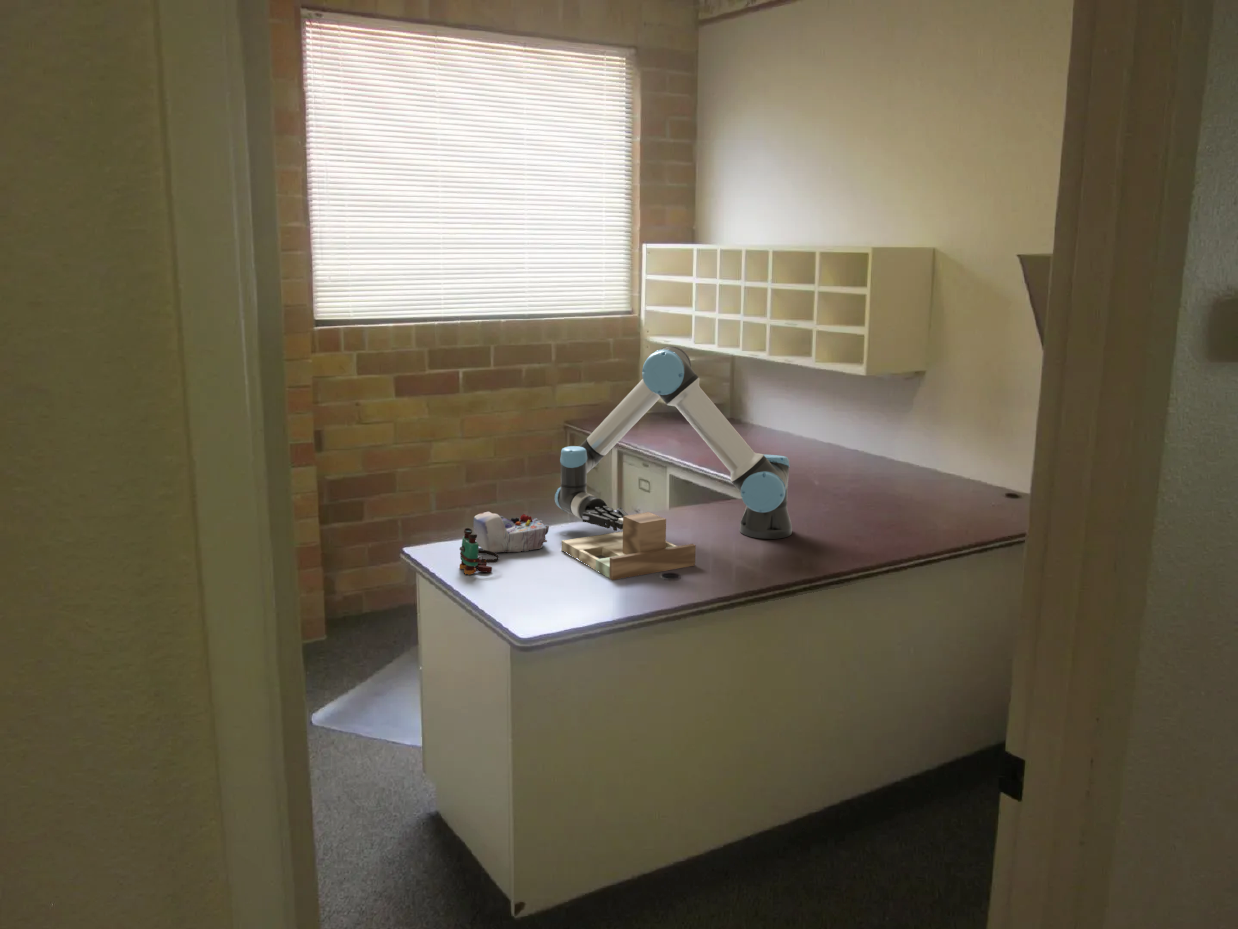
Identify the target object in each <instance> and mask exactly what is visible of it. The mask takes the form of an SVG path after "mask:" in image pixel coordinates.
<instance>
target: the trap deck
mask: <svg viewBox="0 0 1238 929" xmlns="http://www.w3.org/2000/svg"><path fill="white" fill-rule="evenodd" d="M562 551H564V552H567V553H568V554H570V555H571V556H573V557H574V558H578V559H579V560H580V561H582V562H583V563H585V564H587V565H589V566H590V567H591V568H590V567H589V568H590V569H592V568H593V569H592V570H594V569H595V570H597V571H599V572H600V573H599V572H598V573H599V574H601V573H602V574H603V575H602V574H601V575H602V576H604V575H605V576H604V577H607V578H608V577H609V578H608V579H609V580H611V581H615V580H621V578H622V579H627V578H626V577H628V578H632V577H633V578H634V577H638V576H643V575H649V574H650V575H651V574H655V573H659V572H660V573H661V572H666V571H671V570H676V569H682V568H683V569H684V568H688V567H694V566H696V544H694V543H688V544H682V545H676V544H674V543H672V542H669V541H667V540H666V548H664V549H658V550H652V551H646V552H640V553H634V554H628V555H626V554H624V553H623V530H621V531H616V532H615V531H614V532H611V533H610V532H609V533H604V534H598V535H597V534H596V535H590V536H583V537H577V538H571V539H563V540H561V552H562ZM564 552H563V553H564ZM571 556H570V557H571ZM573 557H572V558H573ZM574 558H573V559H574ZM580 561H579V562H580ZM583 563H582V564H583ZM585 564H584V565H585ZM587 565H586V566H587ZM595 570H594V571H595ZM597 571H596V572H597Z"/></svg>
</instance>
